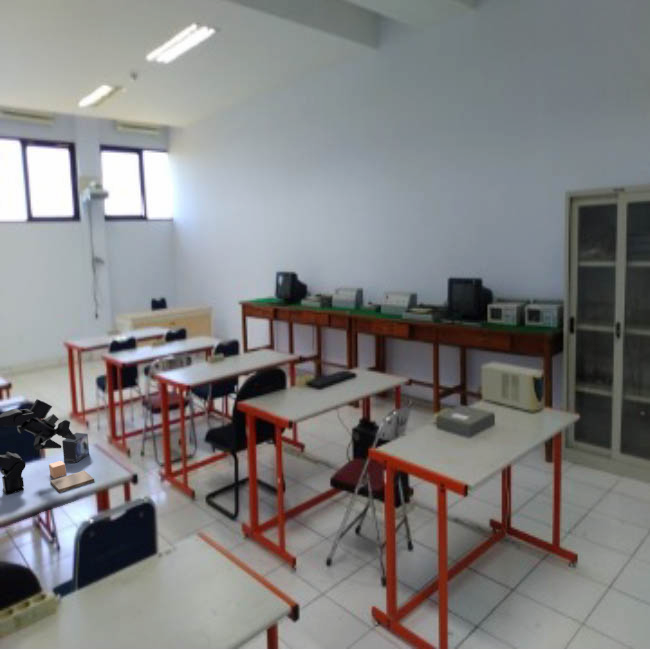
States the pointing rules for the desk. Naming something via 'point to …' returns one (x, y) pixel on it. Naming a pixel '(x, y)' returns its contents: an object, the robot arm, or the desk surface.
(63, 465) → the terracotta cube
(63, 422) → the robot arm
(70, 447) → the small box
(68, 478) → the walnut board
